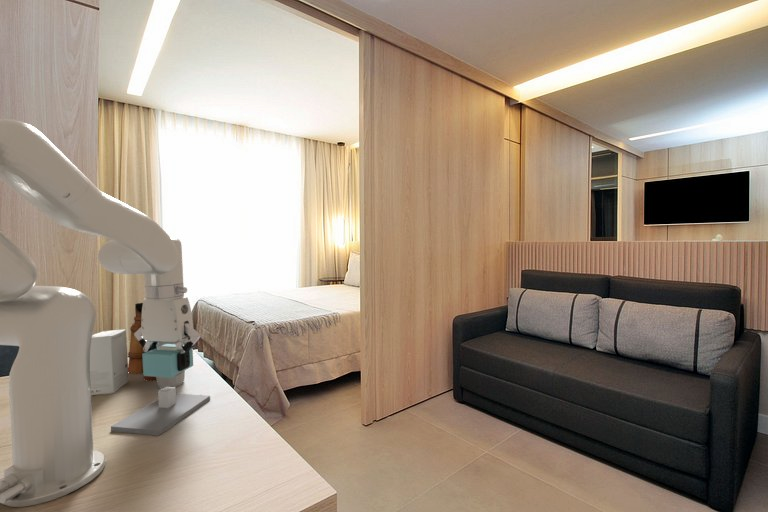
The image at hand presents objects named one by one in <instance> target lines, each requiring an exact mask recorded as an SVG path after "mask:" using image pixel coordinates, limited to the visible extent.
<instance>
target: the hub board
mask: <svg viewBox="0 0 768 512" xmlns="http://www.w3.org/2000/svg"><path fill="white" fill-rule="evenodd" d="M176 387H177V386H176ZM176 387H165V388H160V389H159V390H157V391H158V392H157V393H158V398H157V399H156V400H154V401H153V402H151V403H149V404H148V405H145V406H144V407H142V408H140V409H138V410H137V411H135V412H133V413H132V414H130V415H128V416H126V417H124V418H123V419H122V420H119V421H118V422H116V423H114V424H112V425H111V426H110V431H111V432H117V433H127V434H136V435H137V434H138V435H147V436H157V437H159V436H160V435H162V434H164V433H165V432H166V431H168V430H170V428H172V427H173V426H175V425H176V424H178V423H179V422H181V421H182V420H183V419H185V418H187V417H188V416H189V415H191V414H192V413H193V412H195V411H197V410H198V409H199V408H200V407H202V406H204V405H205V404H207V403H208V402H209V401H210V400H211V396H210V395H203V394H190V393H178V392H177V388H176ZM176 392H177V393H176ZM209 399H210V400H209ZM208 400H209V401H208ZM207 401H208V402H207ZM204 403H205V404H204ZM201 405H202V406H201Z"/></svg>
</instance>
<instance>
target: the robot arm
mask: <svg viewBox="0 0 768 512" xmlns="http://www.w3.org/2000/svg"><path fill="white" fill-rule="evenodd" d="M0 182H1V183H4V184H5V185H6V186H7V187H9V188H10V189H11V190H12V191H14V193H16V194H17V195H18V196H20V197H21V198H23V200H25V201H27V202H28V203H29V204H31V205H32V206H33V207H34V208H36V209H37V211H39V212H41V214H43V216H46V217H47V218H48V219H49V220H51V221H52V222H53V223H55V224H57V225H60V226H61V227H64V228H66V229H67V228H68V229H71V230H74V231H76V232H81V233H84V234H89V235H92V236H93V235H94V236H98V237H101V238H104V239H108V241H106V242H105V243H104V244H102V245H101V247H100V248H99V250H98V253H97V259H98V262H99V264H100V265H101V267H102V268H103V269H105V270H106V271H108V272H110V273H113V274H119V275H143V281H144V282H143V283H144V284H143V285H144V298H143V302H142V303H143V306H142V317H141V328H139V329H138V330H137V331H136V332H135V333H134V335H135V337H136V338H137V339H138V341H139V343H140V344H141V345H142V347H143V350H144V352H148V351H151V350H153V349H155V348H157V346H158V344H159V342H169V343H175V345H176V347H177V349H178V351H179V354H177V364H178V371H182V370H184V369H186V368H188V367H189V366H190V352H189V351H190V350H191V349H192V347H194V346H195V345H196V344H197V342H198V341H199V339H200V338H201V334H200V333H199V332H198V330H196V329H194V321H193V314H192V308H191V304H190V301H189V298H188V296H185V294H187V292H188V287H184V286H185V285H184V272H183V271H184V270H183V269H184V267H183V265H184V264H183V249H182V242H181V240H180V239H179V238H176V237H170V236H169V234H168V233H167V232H166V231H165V230H164V229H163V228H162V227H161V226H160V225H159V224H158V223H157V222H156V221H155V220H153V219H152V218H151V217H149V216H148V215H146V214H145V213H143V212H141V211H139V210H138V209H136V208H134V207H132V206H130V205H128V204H127V203H125V202H122V201H121V200H119V199H117V198H114V197H113V196H111V195H108V194H106V193H105V192H103V190H100V189H99V188H98V187H97V186H96V185H95V183H93V182H92V181H91V180H90V179H89V178H88V177H87V176H86V175H85V174H84V173H83V172H82V171H81V170H80V169H79V168H78V167H77V166H76V165H75V164H74V163H73V162H72V161H71V160H70V159H69V158H68V157H67V156H66V155H65V154H64V153H63V152H62V151H61V150H60V149H59V148H58V147H57V146H56V145H55V144H53V143H52V142H51V140H49V138H47V137H46V136H45V135H44V134H43V133H42V132H41V131H40V130H39V129H37V128H36V127H35V126H32V125H31V124H29V123H26V122H23V121H19V120H17V119H12V118H11V119H9V118H0ZM37 281H38V268H37V266H36V264H35V261H34V260H33V259H32V258H31V256H30V255H28V253H27V252H26V251H24V250H23V248H21V247H20V246H19V245H18V244H17V243H16V242H14V241H13V240H12V239H11V238H9V237H8V236H7V235H6V234H5V233H4V232H3V231H1V230H0V346H12V347H13V346H14V347H19V348H18V352H17V355H16V357H15V359H14V361H13V363H12V366H11V369H10V372H9V375H8V397H9V412H10V435H11V454H12V465H11V466H9V467H7V468H5V469H4V470H3V471H4V472H3V474H4V475H3V476H4V477H2V478H1V479H0V504H2V505H5V506H7V507H13V508H15V507H16V508H20V507H30V506H35V505H39V504H44V503H47V502H50V501H53V500H56V499H60V498H61V497H64V496H65V495H68V494H70V493H73V492H75V491H76V490H78V489H80V488H82V487H83V486H85V485H87V484H89V482H91V481H93V480H94V479H95V478H96V477H97V476H99V475H100V474H101V472H102V471H103V470H104V467H105V465H106V456H105V453H103V452H102V451H99V450H96V449H94V433H93V413H92V412H93V411H92V410H93V409H92V395H91V381H90V345H91V338H92V335H93V334H94V333H93V332H94V330H95V329H94V328H95V322H96V315H97V314H96V308H95V305H94V302H93V300H91V298H89V296H88V295H86V294H85V293H83V292H81V291H80V290H77V289H74V288H70V287H66V286H65V287H64V286H57V285H55V286H54V285H52V286H50V285H36V283H37ZM181 342H183V344H184V346H183V345H182V343H181ZM188 369H189V368H188ZM186 370H187V369H186Z"/></svg>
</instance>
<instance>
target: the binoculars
mask: <svg viewBox="0 0 768 512" xmlns="http://www.w3.org/2000/svg"><path fill="white" fill-rule="evenodd" d="M134 305H135V309H134V311H135V316H134V317H133V321H134V322H133V323H132V324H131V326H130V327H129V328H130V330H129V331H130V342H129V351H128V352H127V358H128V372H129V373H128V374H131V373H142V374H143V357H142V354H144V353H146V352H144V350H143V347H142V345H141V344H140V343H139V341H138V339H137V338H136V337H135V335H134V333H135V332H136V331H137V330H138V329H139V328H141V317H142V306H143V302H137V303H135V304H134ZM144 379H145V380H144ZM143 380H144V381H146V380H147V382H157V380H156V377H154V376H144V375H143Z"/></svg>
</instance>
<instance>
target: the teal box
mask: <svg viewBox="0 0 768 512" xmlns="http://www.w3.org/2000/svg"><path fill="white" fill-rule="evenodd" d="M183 346H184V345H183ZM193 347H194V346H193ZM193 347H192V349H191V350H190V351H189V352H190V366H189V367H188V368H186V369H184V370H182V371H178V364H177V354H179V351H178V349H177V347H176V345H175V344H165V345H163V346H158V347H157V348H155V349H153V350H151V351H148V352H146V353H144V354H142V357H143V373H142V376H143V377H144V376H154V377H168V378H172V377H174V376H176V375H177V374H179V373H181V372H183V371H185V372H186V370H188V369H190V368H191V367H193V366H194V352H193V351H194V350H193V349H194V348H193Z"/></svg>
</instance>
